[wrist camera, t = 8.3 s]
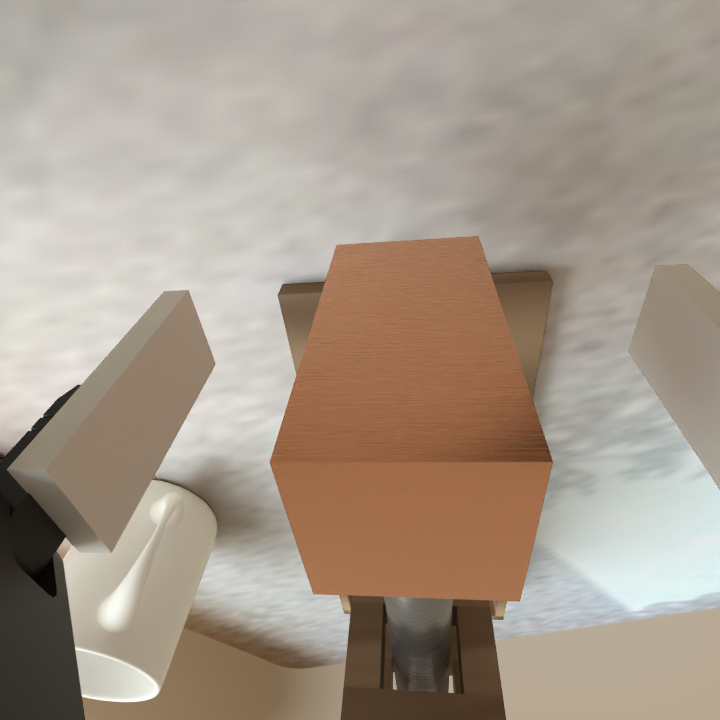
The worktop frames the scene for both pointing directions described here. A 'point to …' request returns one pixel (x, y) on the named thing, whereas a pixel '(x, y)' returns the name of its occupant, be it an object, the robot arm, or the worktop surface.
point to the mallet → (412, 444)
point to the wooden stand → (469, 617)
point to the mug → (138, 594)
